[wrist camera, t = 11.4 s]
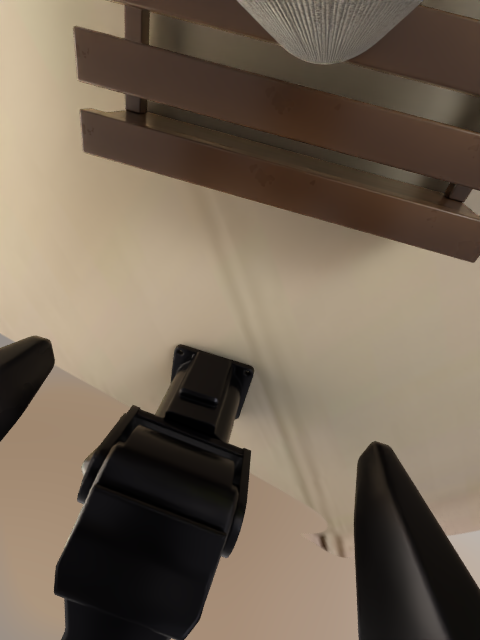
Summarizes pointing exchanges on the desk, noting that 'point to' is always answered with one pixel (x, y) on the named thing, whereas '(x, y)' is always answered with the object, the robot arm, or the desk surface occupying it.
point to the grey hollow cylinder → (328, 25)
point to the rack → (295, 124)
